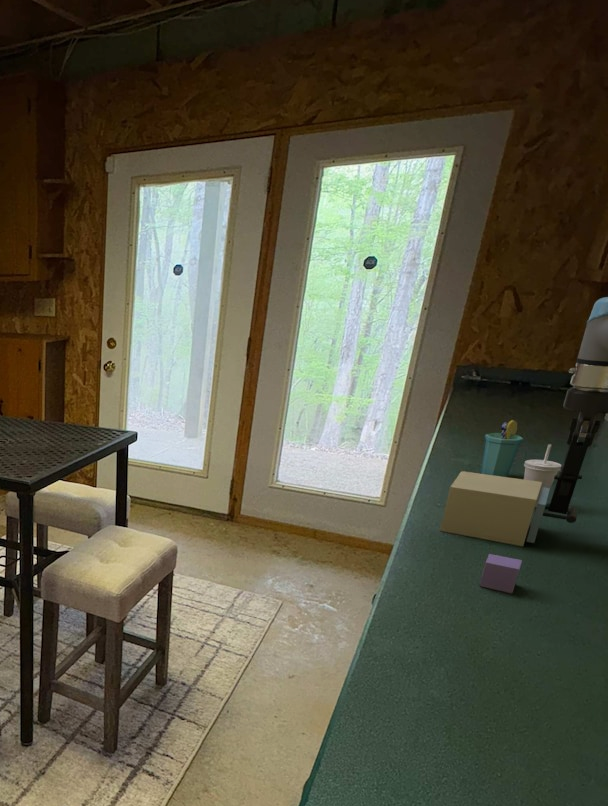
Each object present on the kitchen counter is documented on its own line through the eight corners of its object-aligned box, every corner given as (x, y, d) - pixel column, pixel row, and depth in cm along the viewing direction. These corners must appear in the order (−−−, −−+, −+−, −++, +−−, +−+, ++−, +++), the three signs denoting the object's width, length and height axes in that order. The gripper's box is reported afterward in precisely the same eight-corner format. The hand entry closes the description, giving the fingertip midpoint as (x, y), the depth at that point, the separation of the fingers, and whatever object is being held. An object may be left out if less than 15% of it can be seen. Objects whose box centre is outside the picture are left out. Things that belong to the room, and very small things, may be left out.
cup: (507, 487, 152) (524, 426, 147) (469, 481, 157) (484, 422, 152) (515, 474, 162) (531, 416, 156) (479, 469, 167) (493, 413, 161)
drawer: (570, 529, 125) (582, 492, 122) (567, 549, 116) (580, 510, 113) (465, 511, 135) (474, 477, 133) (455, 528, 127) (464, 492, 124)
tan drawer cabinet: (529, 526, 129) (542, 482, 126) (523, 546, 120) (536, 499, 116) (451, 512, 138) (461, 471, 134) (439, 530, 128) (450, 486, 125)
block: (515, 584, 106) (522, 560, 104) (512, 593, 103) (519, 569, 101) (482, 577, 109) (489, 553, 107) (479, 586, 106) (485, 562, 104)
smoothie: (519, 508, 139) (537, 446, 134) (508, 498, 145) (525, 439, 140) (554, 510, 137) (573, 448, 132) (542, 500, 143) (559, 441, 138)
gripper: (570, 381, 118) (535, 498, 127) (567, 391, 109) (529, 517, 118) (624, 384, 114) (583, 506, 122) (625, 395, 105) (582, 525, 113)
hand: (557, 511), depth 120 cm, fingers closed
